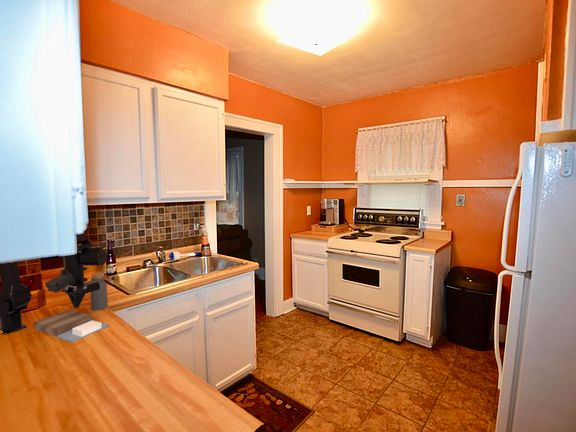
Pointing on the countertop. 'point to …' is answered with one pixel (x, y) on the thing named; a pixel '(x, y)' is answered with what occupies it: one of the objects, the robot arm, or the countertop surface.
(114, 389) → the countertop surface
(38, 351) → the countertop surface
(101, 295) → the bottle
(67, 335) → the mat
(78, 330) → the pale pink rectangular block
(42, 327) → the step
